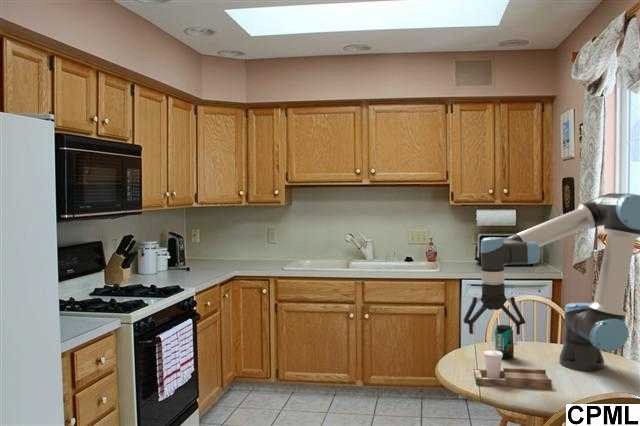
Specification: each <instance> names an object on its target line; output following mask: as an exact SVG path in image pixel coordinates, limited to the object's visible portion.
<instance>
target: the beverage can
mask: <svg viewBox="0 0 640 426" xmlns="http://www.w3.org/2000/svg"><path fill="white" fill-rule="evenodd" d="M494 341H495V351H499V352H502V353H503V357H502V360H511V359H513V358H514V356H515V355H514V354H515V353H514V348H515V346H514V343H513V326H511V325H509V324H508V325H506V324H498V325H496V328H495V329H494Z"/></svg>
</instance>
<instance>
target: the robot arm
mask: <svg viewBox="0 0 640 426" xmlns="http://www.w3.org/2000/svg"><path fill="white" fill-rule="evenodd" d="M602 226H603V230H604V232H605V233H606V235H607V236H606V240H605V245H604V246H605V247H604V250H603V251H604V252H603V256H602V260H601V267H600V271H599V276H598V280H597V286H596V289H595V290H596V291H595V296H594V299H593V300H594V301H593V302H570V303H567V304H565V308H564V343H563V346H562V348H561V352H560V354H559V362H558V363H560V365H562V366H564V367H565V368H568V369H572V370H578V371H585V372H586V371H587V372H592V371H601V370H603V369H605V359H604V357H603V353H602V351H606V352H613V351H616V350H618V349H620V348H622V347H624V345H625V344H626V342H628V339H629V335H630V334H629V328H628V327H627V324H626V323H625V320H626V319H625V318H626V313H625V311H624V310H623V308H622V307H623V304H624V303H623V302H624V298H625V293H626V292H625V291H626V288H627V283H628V277H629V273H630V268H631V263H632V260H633V259H632V258H633V253H634V248H635V245H636V240H637V239H639V238H640V195H639V194H635V193H629V192H627V193H617V192H613V193H612V192H611V193H607V194H603V195H599V196H598V197H595V198H593V199H590V200H588V201H586V202H584V203H581V204H579V205H578V206H577V208H576V209H574V210H572V211H569V212H566V213H564V214H561V215H559V216H557V217H555V218H552V219H549V220H547V221H544V222H542V223H540V224H537V225H535V226H532V227H530V228H528V229H525V230H522V231H520V232H518V233H515V234H512V235H510V236H508V237H505V236H504V237H498V236H497V237H496V236H494V237H491V236H488V237H484V238H481V240H480V252H479V253H480V261H481V262H480V265H481V268H480V270H481V282H482V283H481V296H476V295H473V296H472V298H471V299H472V301H471V303H470V305H469V308H468V309H467V312H466V314H465V316H464V317H463V323H464V324H467V325H468V332H469V335H472V344H473V345H476V323H475V322H476V321H477V320H478V319H479V318H480V317H481V316H482V314H483V313H484V312H485V311H486V310H489V311H492V310H493V311H494V310H496V311H499V310H502V311H503V312H504V313H505V314H506V315H507V316H508V317H509V319H510V320H512V322H513V324H512V330H513V343H514V345H515V346H517V345H518V341H517V339H518V337H517V335H518V336H519V335H520V334H521V325H525V324H526V320H525V319H524V316H523V315H522V313H521V311H520V309H519V308H518V306H517V303H516V300H515V296H513V295H510V296H506V294H505V293H506V290H505V288H506V287H505V283H504V282H505V266H508V265H531V264H537V263H539V261H540V259H541V258H540V257H541V250H540V247H542V246H545V245H548V244H550V243H552V242H556V241H558V240H559V239H562V238H565V237H568V236H570V235H573V234H575V233H577V232H579V231H582V230H585V229H589V230H592V229H594V228H598V227H602ZM480 302H481V306H480V308H479V309H478V310H477V311H476V312H475V313H474V314H473V312H474V310H475V308H476V305H477V304H479V303H480ZM506 302H508V303H509V304H511V306H512V308H513V310H514V311H515V313H516V315H517V317H518V318H519V319H517V317H515V316H514V315H513V313H512V312H511V311H510V310H509V309H508V308H507V307H506V305H505V303H506ZM472 314H473V316H472ZM471 316H472V317H471Z"/></svg>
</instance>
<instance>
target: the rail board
mask: <svg viewBox="0 0 640 426" xmlns="http://www.w3.org/2000/svg"><path fill="white" fill-rule="evenodd" d="M473 376H474V380H475V381H474V382H475V384H476V385H477V386H478V385H479V386H480V385H481V386H497V387H513V388H515V387H516V388H530V389H532V388H533V389H535V388H536V389H550V390H552V379H551V378H549V377H548V375H547V370H546V369H538V368H537V369H536V368H520V367H515V368H514V367H503V369H502V370H501V369H500V376H499V379H493V378H487V370H486V369H481V368H477V369H476V368H474V369H473ZM501 377H502V378H501Z"/></svg>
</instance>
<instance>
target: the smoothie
mask: <svg viewBox="0 0 640 426" xmlns="http://www.w3.org/2000/svg"><path fill="white" fill-rule="evenodd" d="M483 356H484V361H485V368H486V370H487V376H486V378H493V379H500V377H499V376H500V370H501V367H502V360H503V359H502V357H503V353H502V352H499V351H495V340H493V349H492V350H491V349H490V350H489V349H488V350H485V351H483Z"/></svg>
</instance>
